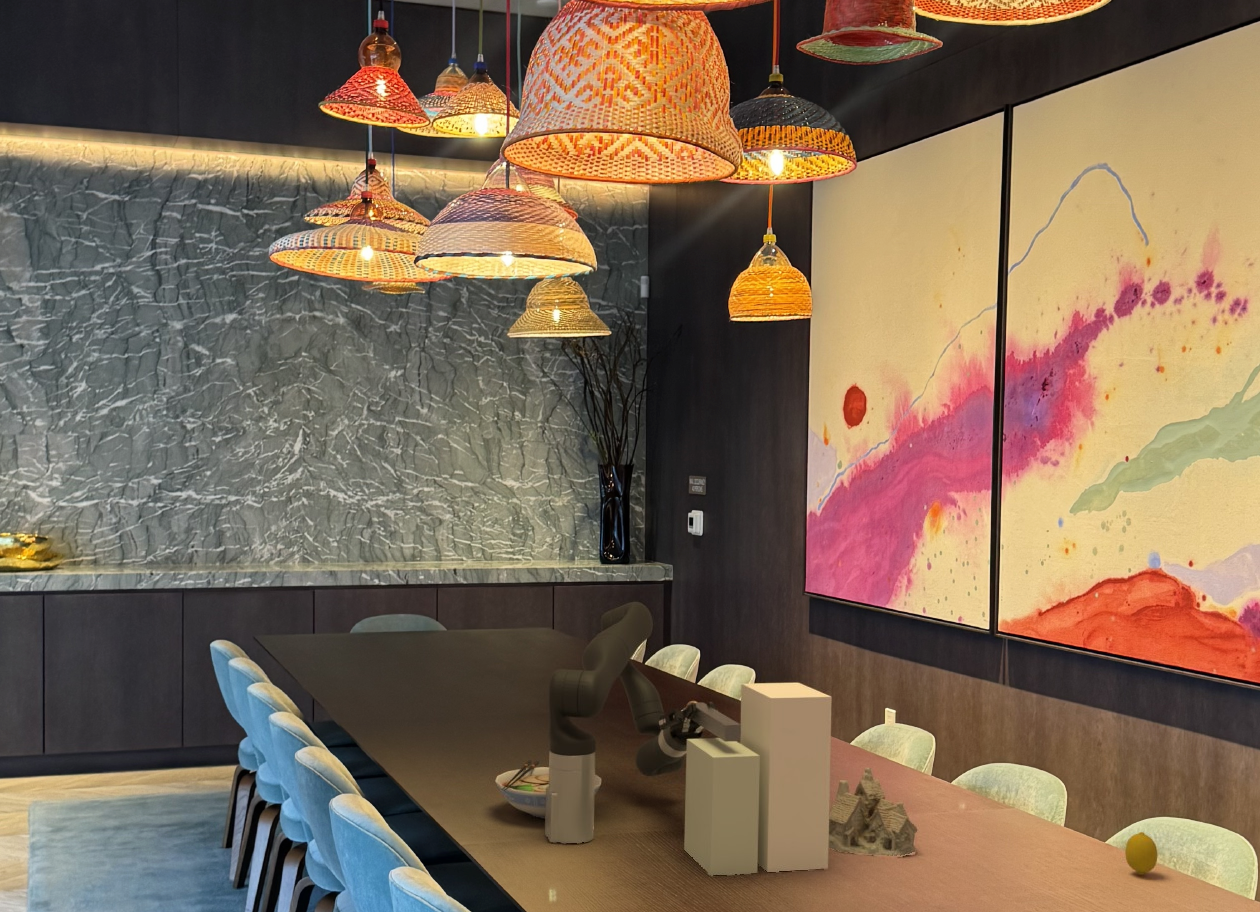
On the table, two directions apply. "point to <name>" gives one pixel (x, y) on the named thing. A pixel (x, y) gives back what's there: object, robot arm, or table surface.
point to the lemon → (1141, 853)
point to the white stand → (790, 772)
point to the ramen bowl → (528, 788)
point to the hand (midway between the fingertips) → (703, 707)
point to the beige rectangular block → (722, 806)
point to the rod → (716, 722)
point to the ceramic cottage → (869, 821)
